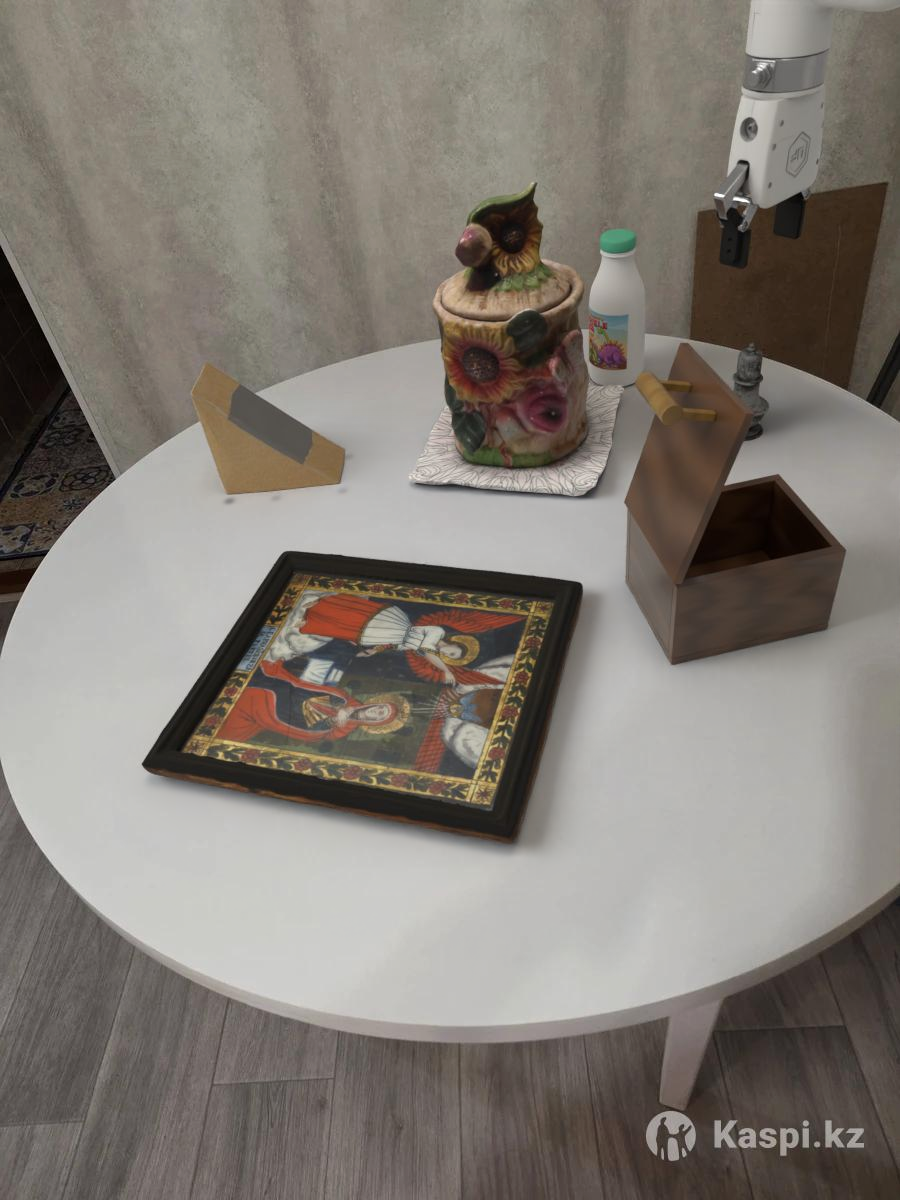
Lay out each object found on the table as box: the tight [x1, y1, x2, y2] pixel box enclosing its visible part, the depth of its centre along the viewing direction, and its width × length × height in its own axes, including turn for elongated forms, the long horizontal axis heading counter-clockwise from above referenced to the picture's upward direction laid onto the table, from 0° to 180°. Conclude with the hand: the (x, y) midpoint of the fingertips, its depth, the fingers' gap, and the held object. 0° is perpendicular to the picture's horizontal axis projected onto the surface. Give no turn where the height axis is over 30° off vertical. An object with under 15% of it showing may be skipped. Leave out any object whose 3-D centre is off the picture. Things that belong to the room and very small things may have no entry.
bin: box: [624, 473, 847, 666], centre depth 85 cm, size 16×13×10 cm
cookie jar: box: [408, 181, 624, 497], centre depth 104 cm, size 25×25×32 cm
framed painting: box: [141, 550, 584, 844], centre depth 84 cm, size 38×35×3 cm
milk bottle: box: [588, 228, 647, 387], centre depth 118 cm, size 8×8×20 cm
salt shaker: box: [732, 341, 770, 442], centre depth 107 cm, size 6×6×12 cm
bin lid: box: [623, 342, 755, 584], centre depth 75 cm, size 17×13×6 cm
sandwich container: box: [190, 361, 345, 495], centre depth 111 cm, size 9×15×15 cm, turn 90°
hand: (760, 250), depth 95 cm, fingers open, 9 cm apart
